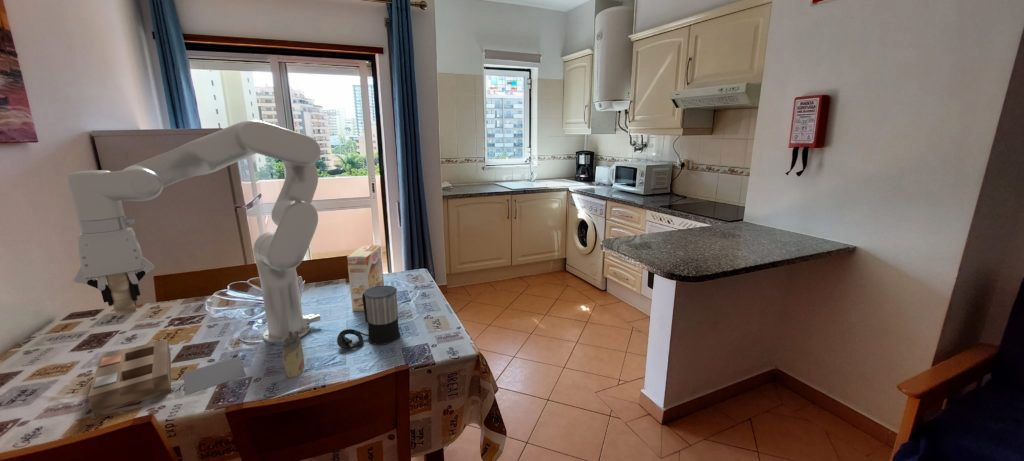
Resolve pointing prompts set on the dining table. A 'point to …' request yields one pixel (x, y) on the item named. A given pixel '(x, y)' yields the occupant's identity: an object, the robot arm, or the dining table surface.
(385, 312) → the milk frother
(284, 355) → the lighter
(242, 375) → the mat
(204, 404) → the dining table surface
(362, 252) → the coffeecake box
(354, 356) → the dining table surface
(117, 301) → the peg
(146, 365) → the socket block
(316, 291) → the dining table surface
